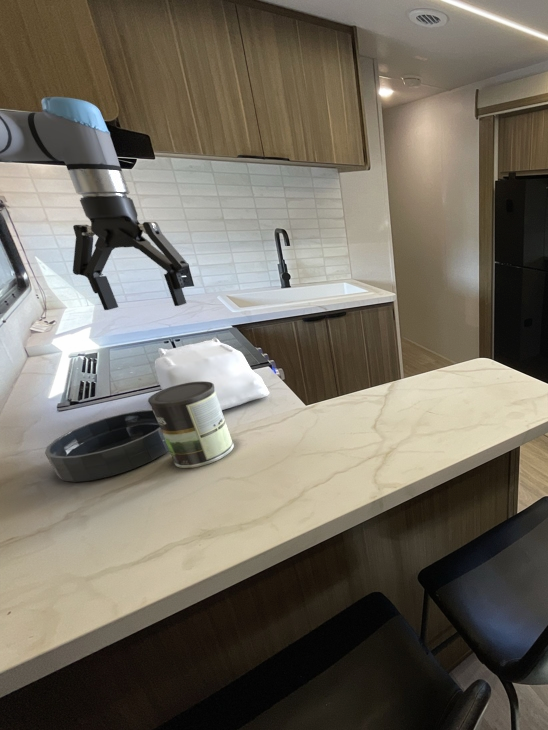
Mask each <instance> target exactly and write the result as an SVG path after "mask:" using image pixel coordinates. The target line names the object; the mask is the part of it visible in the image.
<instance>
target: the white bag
mask: <svg viewBox="0 0 548 730" xmlns="http://www.w3.org/2000/svg"><path fill="white" fill-rule="evenodd" d="M157 351H158V354H159V357H157V358H156V359H155V361H154V369H155V372H156V377H157V380H158V384H159V386H160V389H161V390H164V389H166V388H169V387H172V386H176V385H180V384H185V383H190V382H211V383H213V384H214V387H215V389H214V390H215V393H216V396H217V399H218V401H219V404H220V407H221V410H222V411H224V410H228V409H231V408H234V407H238V406H240V405H243V404H246V403H249V402H251V401H256V400H260V399H263V398H266V397H267V396H269V395H270V391H269V389H268V387H267V386H266V384H265V382H264V380H263V378H262V377H261V376H260V375H259V374H258V373H256V372H255V371H254V370H253V369H252V368H251V366H250V364H249V363H248V361H247V359H246V357H245V355H244V354H243V352H241V351H240V350H238V349H235V348H234V347H232V346H231V345H229V344H226V343H223V342H221V341H220V339H218V338H217V337H216V336H214V337H213V338H211V339H210V340H204V341H200V342H196V343H188V344H185V345H181V346H177V347H173V348H170V349H166V348H162V347H160V348H158V350H157Z"/></svg>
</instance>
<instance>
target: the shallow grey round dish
mask: <svg viewBox="0 0 548 730" xmlns="http://www.w3.org/2000/svg"><path fill="white" fill-rule="evenodd" d="M168 452H170V450H169V448H168V445H167V443H166V440H165V438H164V436H163V433H162V431H161V428H160V426H159V424H158V421H157V419H156V417H155V414H154V412H153V409H144V410H143V409H142V410H135V411H130V412H124V413H120V414H115V415H112V416H108V417H105V418H101V419H99V420H98V419H97V420H95V421H93V422H89V423H86V424H84V425H82V426H79V427H77V428H75V429H72V430H70V431H68V432H67V433H65V434H63V435H61V436H59V437H57V438H55V439H54V440H53V441H52V442H51V443H49V444H48V445H47V446H46V448H45V451H44V455H45V457H46V458H47V460H48V461H49V463H50V465H51V467H52V469H53V471H54V472H55V474H56V476H57V477H58V478H59V479H61V480H62V481H65V482H73V483H76V482H77V483H78V482H88V481H96V480H100V479H104V478H108V477H113V476H116V475H119V474H122V473H126V472H129V471H131V470H134V469H136V468H139V467H141V466H143V465H146V464H148V463H150V462H152V461H154V460H156V459H157V458H160V457H161V456H163V455H165V454H167V453H168Z"/></svg>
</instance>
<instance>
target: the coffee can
mask: <svg viewBox="0 0 548 730" xmlns="http://www.w3.org/2000/svg"><path fill="white" fill-rule="evenodd" d="M214 389H215V387H214V384H213V383H211V382H190V383H185V384H180V385H176V386H172V387H169V388H166V389H164V390H162V389H161V390H159V391H157V392H155V393H153V394H152V395H151V396H149V397H148V399H147V403H148V404H149V406H150V407H151V410H153V412H154V414H155V417H156V419H157V421H158V424H159V426H160V428H161V431H162V433H163V436H164V438H165V440H166V443H167V445H168V448H169V452H170V454H171V455H170V456H171V457H172V459H173V463H174V465H175V467H177V468H181V469H194V468H200V467H203V466H207V465H209V464H212V463H214V462H217V461H219V460H221V459H223V458H224V457H226V456H227V455H229V454H230V453H231V452H232V450H233V449H234V447H235V445H234V442H233V440H232V437H231V434H230V431H229V428H228V426H227V422H226V420H225V416H224V413H223V410H221V407H220V404H219V401H218V399H217V396H216V393H215V390H214Z"/></svg>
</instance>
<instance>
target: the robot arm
mask: <svg viewBox="0 0 548 730" xmlns="http://www.w3.org/2000/svg"><path fill="white" fill-rule="evenodd" d="M40 102H41V107H42V111H36V112H35V111H31V112H30V111H29V112H28V111H14V110H13V111H10V110H1V109H0V162H3V163H12V162H64V164H65V167H66V169H67V172H68V174H69V177H70V180H71V182H72V185H73V188H74V190H75V192H76V194H77V195H81V196H82V197H80V199H79V202H80V204H81V207H82V209H83V213H84V215H85V217H86V218H88V220H89V221H90V225H89V224H74V225H73V227H72V228H73V232H74V235H75V245H74V252H73V262H72V263H73V265H72V273H73V274H74V275H76V276H84V277H85V278H87V280H88V282H89V284H90V287H91V289H92V292H93V293H94V294H97V295H98V298H99V300H100V304H101V305H102V307H103V310H104V311H111V310H113V309H117V308H119V304H118V302H117V300H116V297H115V295H114V292H113V289H112V287H111V285H110V282H109V280H108V276H107V275H104V273H103V270H104V268H105V266H106V265H107V262H108V260H109V258H110V256H111V253H112V251H113V250H115V249H118V248H134V249H136V250H138V251H140V252H141V253H142V254H144V255H145V256H146V257H148V258H149V259H150V260H151V261H153V262H154V263H155V264H157V265H158V266H159V267H161V268H162V269H163V270H165V272H166V273H164V274H163V277H164V280H165V282H166V285H167V287H168V290H169V293H170V296H171V299H172V302H173V305H174V307H181V306H183V305H186V304H187V300H186V298H185V294H184V291H183V289H184V288H185V283H184V279H183V276H182V274H181V272H182V271H184V270H186V269H189V268H190V265H189V263H188V262H187V261H186V260H185V258H184V257H183V256H182V255H181V254H180V252H179V251H178V250H177V249H176V248H175V246H173V244H172V243H171V242H170V241H169V240H168V238H167V237H166V236H165V235H164V234H163V233H162V230H161V228H160V226H159V224H158V222H156V221H144V222H143V223H141V222H139V220H138V216H139V215H138V212H137V209H136V206H135V203H134V200H133V199H132V198H131V197H129V196H128V195H130V189H129V186H128V183H127V181H126V178H125V175H124V173H123V169H122V167H121V165H120V162H119V158H118V155H117V152H116V150H115V149H116V148H115V147H114V143H113V140H112V137H111V132H110V131H109V129H108V127H107V124H106V122H105V120H104V118H103V115H102V112H101V111H100V109H99V108H98V106H96V105H95V104H93V103H91V102H90V101H86V100H82V99H78V98H73V97H65V96H51V97H50V96H48V97H44V98H42V99H41V101H40ZM143 233H144V234H146V235H147V237H148V238H149V239H150V240H151V241H152V242H153V243H154V245H155V246H156V247H157V248H158V249H157V248H156V247H155V246H154V245H153V244H152V243H151V242H150V240H148V239H147V238H146V237H144V235H143ZM94 236H96V237H97V238H96V239H97V240H96V242H95V244H94ZM93 246H94V247H95V248H94V250H93Z"/></svg>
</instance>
